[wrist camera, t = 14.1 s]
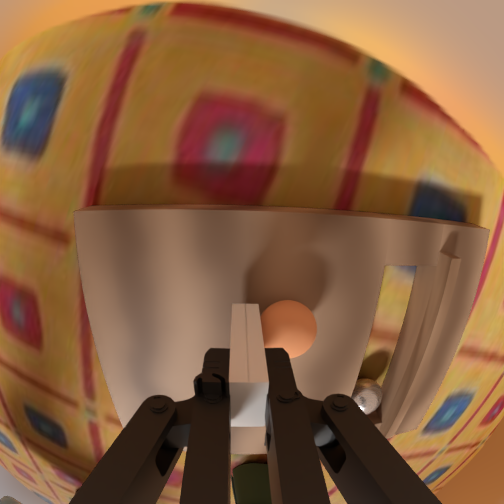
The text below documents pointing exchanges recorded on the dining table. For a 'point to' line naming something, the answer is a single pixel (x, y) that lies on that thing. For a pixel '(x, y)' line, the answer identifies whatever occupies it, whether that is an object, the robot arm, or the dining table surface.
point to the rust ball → (288, 327)
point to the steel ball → (367, 395)
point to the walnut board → (272, 296)
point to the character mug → (251, 484)
